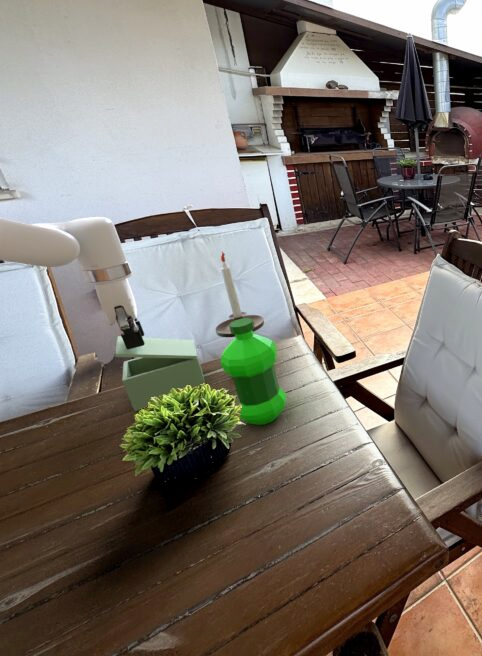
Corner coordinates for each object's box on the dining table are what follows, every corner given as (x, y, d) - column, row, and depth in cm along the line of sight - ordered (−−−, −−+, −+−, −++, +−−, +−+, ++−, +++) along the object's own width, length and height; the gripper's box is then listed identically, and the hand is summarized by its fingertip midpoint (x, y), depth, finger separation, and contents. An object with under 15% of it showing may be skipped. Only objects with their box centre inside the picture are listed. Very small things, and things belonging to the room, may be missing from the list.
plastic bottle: (228, 428, 90) (198, 331, 81) (265, 399, 100) (242, 309, 91) (265, 436, 88) (239, 337, 79) (300, 406, 98) (279, 314, 89)
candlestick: (280, 367, 113) (253, 249, 101) (237, 386, 105) (202, 260, 93) (264, 355, 119) (237, 242, 107) (222, 371, 111) (187, 251, 99)
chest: (134, 411, 95) (122, 380, 92) (134, 390, 103) (123, 361, 100) (206, 387, 104) (197, 358, 101) (202, 370, 112) (193, 342, 109)
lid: (115, 357, 90) (121, 334, 90) (117, 339, 98) (122, 318, 98) (196, 358, 101) (202, 338, 101) (192, 342, 108) (197, 324, 108)
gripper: (88, 266, 94) (116, 334, 100) (80, 288, 82) (113, 363, 88) (131, 259, 98) (155, 324, 105) (129, 278, 86) (157, 350, 93)
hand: (135, 341), depth 96 cm, fingers closed on lid, 5 cm apart
